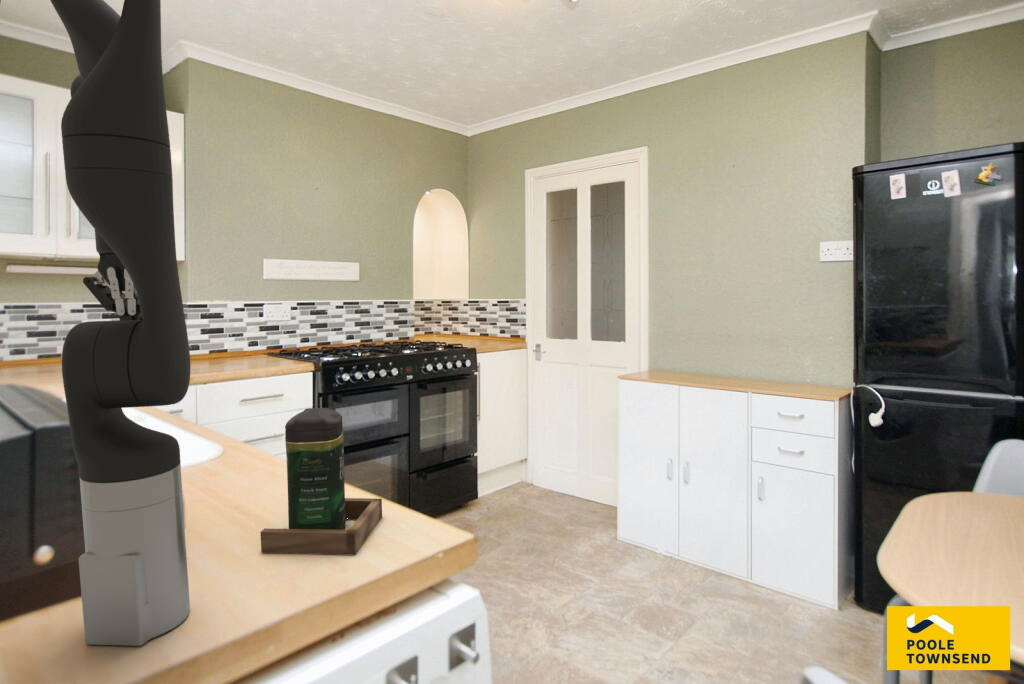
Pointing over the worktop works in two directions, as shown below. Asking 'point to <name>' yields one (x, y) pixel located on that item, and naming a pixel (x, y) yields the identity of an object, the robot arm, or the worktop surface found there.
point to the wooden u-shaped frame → (327, 532)
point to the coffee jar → (315, 470)
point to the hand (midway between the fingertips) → (133, 340)
